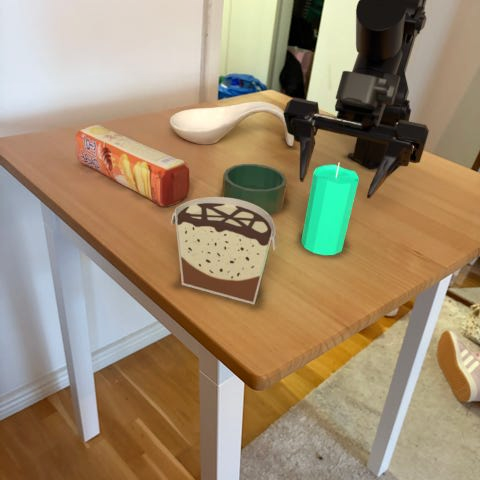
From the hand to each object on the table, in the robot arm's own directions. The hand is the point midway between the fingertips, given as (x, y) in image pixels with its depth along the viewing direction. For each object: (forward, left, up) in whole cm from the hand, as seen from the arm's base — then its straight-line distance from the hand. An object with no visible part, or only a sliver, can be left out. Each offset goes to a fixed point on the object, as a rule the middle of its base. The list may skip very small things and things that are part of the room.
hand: (334, 188), depth 70 cm
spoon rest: (-8, -38, -8) cm, 39 cm away
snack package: (+17, -28, -8) cm, 34 cm away
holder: (+2, -15, -8) cm, 17 cm away
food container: (+17, +2, -8) cm, 19 cm away
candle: (0, 0, -8) cm, 8 cm away
